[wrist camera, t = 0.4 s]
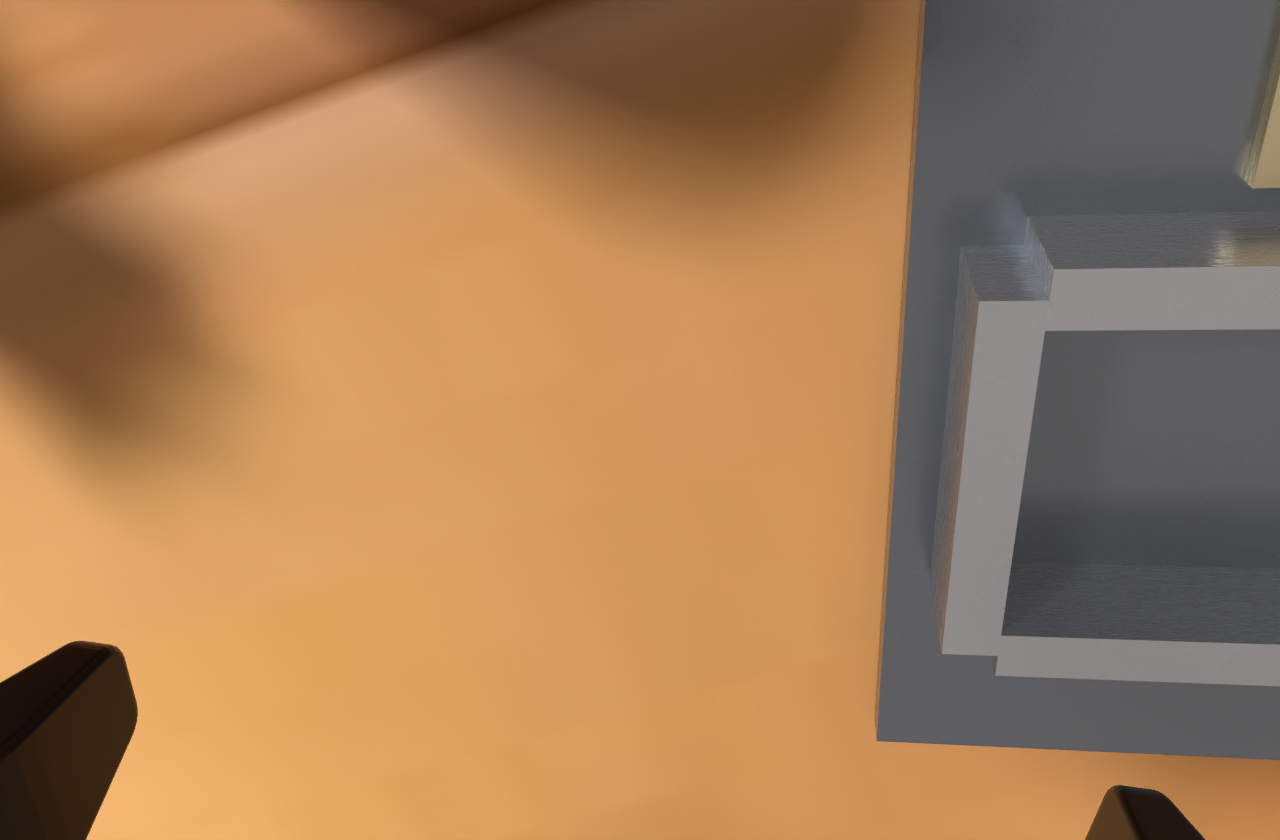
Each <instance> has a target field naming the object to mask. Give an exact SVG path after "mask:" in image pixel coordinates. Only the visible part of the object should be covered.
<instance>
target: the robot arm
mask: <svg viewBox="0 0 1280 840" xmlns="http://www.w3.org/2000/svg"><path fill="white" fill-rule="evenodd" d="M137 716H138V709H137V702H136V699H135V695H134V691H133V687H132V684H131V680H130V676H129V672H128V669H127V665H126V661H125V657H124V655H123V653H122V652H121V651H120V649H119V648H118V647H116V646H113V645H109V644H101V643H94V642H87V641H74V642H71V643H69V644H66V645H64V646H62V647H61V648H59V649H57V650H56V651H54V652H52V653H50V654H49V655H47V656H45V657H44V658H42V659H40V660H38V661H37V662H35V663H33V664H32V665H30V666H28V667H26V668H25V669H23V670H21V671H20V672H18V673H16V674H14V675H13V676H11V677H9V678H7V679H6V680H4V681H2V682H1V683H0V840H86V838H87V836H88V834H89V832H90V829H91V827H92V825H93V823H94V820H95V818H96V816H97V814H98V812H99V809H100V807H101V805H102V803H103V800H104V798H105V796H106V794H107V791H108V789H109V787H110V785H111V782H112V780H113V778H114V776H115V773H116V771H117V769H118V767H119V764H120V762H121V760H122V758H123V755H124V753H125V751H126V749H127V746H128V744H129V742H130V740H131V738H132V735H133V733H134V730H135V726H136V723H137ZM1085 840H1205V839H1204V838H1203V836H1202V835H1201V834H1200V833H1199V832H1198V831H1197V830H1196V829H1195V827H1194V826H1193V825H1192V824H1191V823H1190V822H1189V821H1188V820H1187V818H1186V817H1185V816H1184V815H1183V814H1182V813H1181V812H1180V811H1179V809H1178V808H1177V807H1176V806H1175V805H1174V804H1173V803H1172V802H1171V801H1170V800H1169V799H1168V798H1167V797H1166V796H1165V795H1163V794H1162V793H1160V792H1158V791H1155V790H1151V789H1144V788H1136V787H1129V786H1122V785H1117V786H1113V787H1111V788H1110V789H1109V790H1108V791H1107V793H1106V794H1105V796H1104V798H1103V801H1102V803H1101V805H1100V807H1099V809H1098V812H1097V814H1096V816H1095V818H1094V821H1093V823H1092V825H1091V827H1090V830H1089V832H1088V834H1087V836H1086V838H1085Z"/></svg>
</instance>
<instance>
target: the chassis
mask: <svg viewBox="0 0 1280 840" xmlns="http://www.w3.org/2000/svg"><path fill="white" fill-rule="evenodd" d="M875 727H876V739H877V741H887V742H908V743H930V744H951V745H972V746H994V747H1015V748H1037V749H1058V750H1079V751H1101V752H1122V753H1143V754H1165V755H1186V756H1208V757H1229V758H1250V759H1272V760H1280V0H921V2H920V17H919V33H918V49H917V64H916V80H915V96H914V111H913V127H912V143H911V159H910V174H909V190H908V206H907V221H906V237H905V253H904V268H903V284H902V300H901V315H900V331H899V347H898V362H897V378H896V394H895V410H894V425H893V441H892V457H891V472H890V488H889V504H888V519H887V535H886V551H885V566H884V582H883V598H882V613H881V629H880V645H879V661H878V676H877V692H876V708H875Z"/></svg>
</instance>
